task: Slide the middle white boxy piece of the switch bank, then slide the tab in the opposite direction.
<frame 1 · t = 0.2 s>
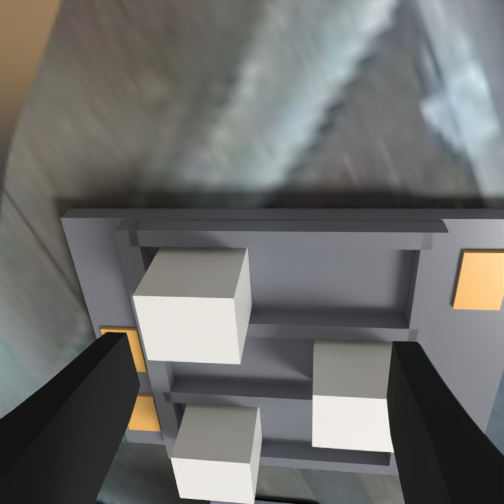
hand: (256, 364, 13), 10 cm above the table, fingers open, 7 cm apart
white boxy piece 1: (220, 447, 26), point 3 cm above the table, slide at 7.0 cm
switch bank: (291, 342, 25), on the table
white boxy piece 2: (355, 389, 22), point 3 cm above the table, slide at 0.0 cm
tab 3: (199, 301, 21), point 3 cm above the table, slide at 7.0 cm
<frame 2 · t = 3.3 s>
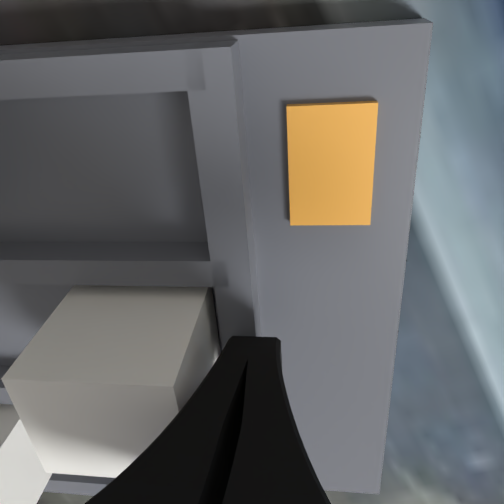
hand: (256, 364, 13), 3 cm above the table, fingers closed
switch bank: (73, 301, 16), on the table
white boxy piece 2: (131, 372, 13), point 3 cm above the table, slide at 0.0 cm, touching gripper
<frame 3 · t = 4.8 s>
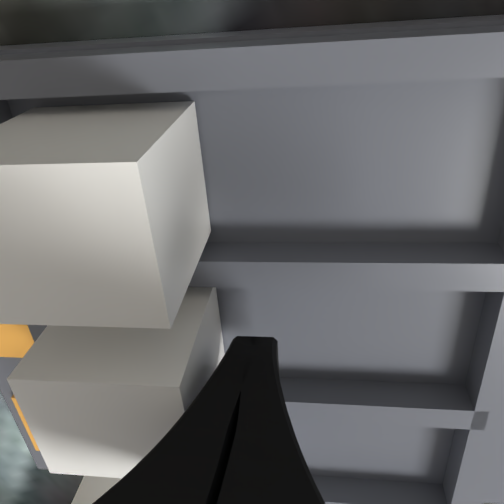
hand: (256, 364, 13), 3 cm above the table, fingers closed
white boxy piece 1: (167, 484, 15), point 3 cm above the table, slide at 7.0 cm
switch bank: (285, 306, 15), on the table
white boxy piece 2: (136, 372, 13), point 3 cm above the table, slide at 7.1 cm, touching gripper
tab 3: (94, 206, 10), point 3 cm above the table, slide at 7.0 cm
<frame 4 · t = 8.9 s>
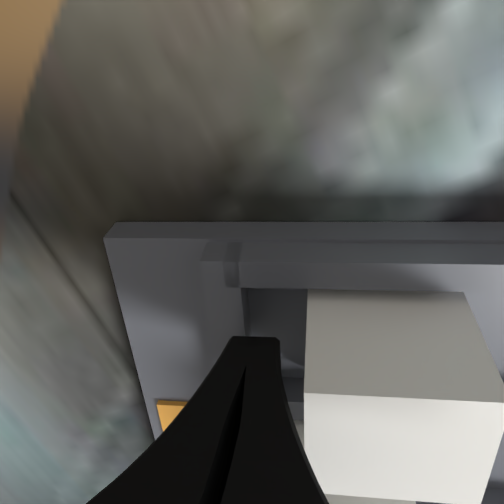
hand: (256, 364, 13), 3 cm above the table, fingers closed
switch bank: (444, 422, 17), on the table
white boxy piece 2: (336, 497, 15), point 3 cm above the table, slide at 7.1 cm
tab 3: (386, 383, 12), point 3 cm above the table, slide at 6.0 cm, touching gripper
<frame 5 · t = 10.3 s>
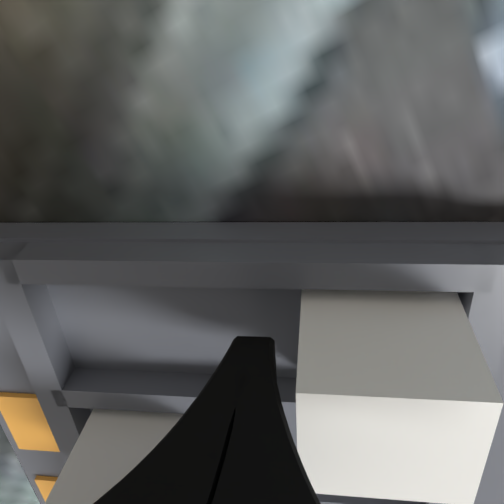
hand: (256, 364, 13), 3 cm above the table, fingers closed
switch bank: (270, 412, 18), on the table
white boxy piece 2: (145, 482, 15), point 3 cm above the table, slide at 7.1 cm
tab 3: (379, 383, 12), point 3 cm above the table, slide at -0.1 cm, touching gripper
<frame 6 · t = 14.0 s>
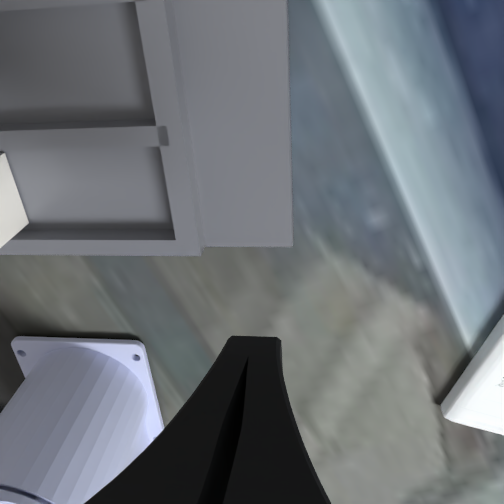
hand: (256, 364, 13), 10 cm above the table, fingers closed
switch bank: (33, 65, 19), on the table
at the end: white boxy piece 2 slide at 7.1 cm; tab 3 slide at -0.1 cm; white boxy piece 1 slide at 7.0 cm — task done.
